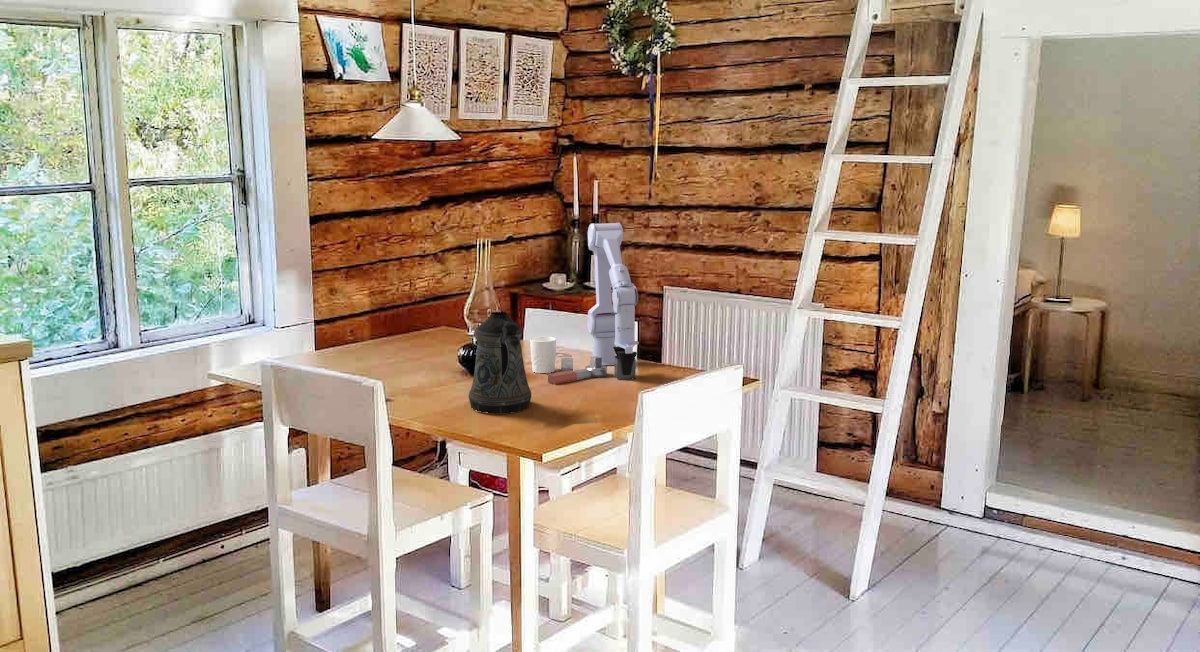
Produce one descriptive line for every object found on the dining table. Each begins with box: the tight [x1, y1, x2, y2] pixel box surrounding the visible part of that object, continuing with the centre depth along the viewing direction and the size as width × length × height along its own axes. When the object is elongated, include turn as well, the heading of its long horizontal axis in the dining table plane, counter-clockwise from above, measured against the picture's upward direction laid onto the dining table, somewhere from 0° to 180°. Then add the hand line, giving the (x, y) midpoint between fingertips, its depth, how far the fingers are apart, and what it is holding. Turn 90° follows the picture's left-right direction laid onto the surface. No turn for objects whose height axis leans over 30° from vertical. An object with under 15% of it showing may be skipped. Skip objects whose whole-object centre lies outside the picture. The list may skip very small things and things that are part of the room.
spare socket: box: [560, 357, 574, 372], centre depth 302 cm, size 4×4×4 cm
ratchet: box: [547, 356, 608, 385], centre depth 293 cm, size 20×6×6 cm, turn 129°
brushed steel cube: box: [613, 356, 637, 380], centre depth 295 cm, size 5×5×6 cm
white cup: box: [529, 336, 557, 374], centre depth 303 cm, size 8×8×10 cm
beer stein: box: [468, 311, 532, 414], centre depth 260 cm, size 16×19×25 cm
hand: (624, 372), depth 295 cm, fingers closed on brushed steel cube, 5 cm apart
